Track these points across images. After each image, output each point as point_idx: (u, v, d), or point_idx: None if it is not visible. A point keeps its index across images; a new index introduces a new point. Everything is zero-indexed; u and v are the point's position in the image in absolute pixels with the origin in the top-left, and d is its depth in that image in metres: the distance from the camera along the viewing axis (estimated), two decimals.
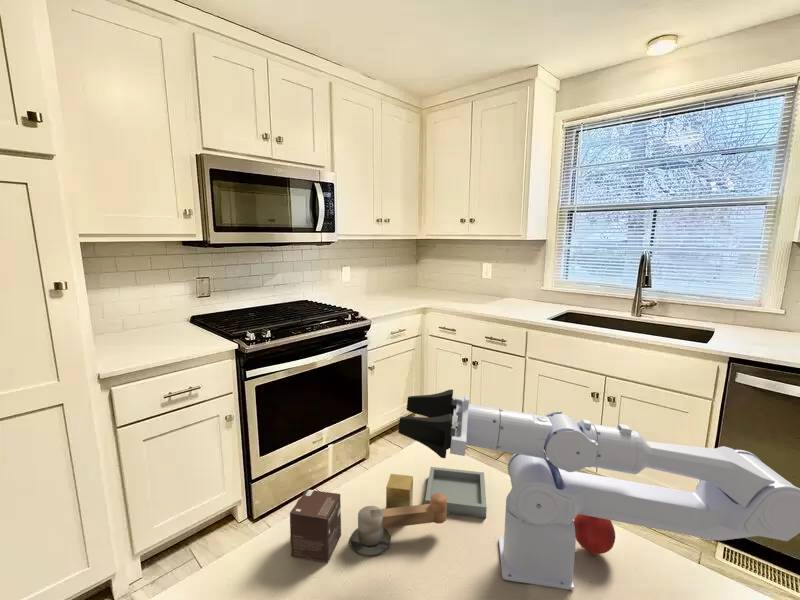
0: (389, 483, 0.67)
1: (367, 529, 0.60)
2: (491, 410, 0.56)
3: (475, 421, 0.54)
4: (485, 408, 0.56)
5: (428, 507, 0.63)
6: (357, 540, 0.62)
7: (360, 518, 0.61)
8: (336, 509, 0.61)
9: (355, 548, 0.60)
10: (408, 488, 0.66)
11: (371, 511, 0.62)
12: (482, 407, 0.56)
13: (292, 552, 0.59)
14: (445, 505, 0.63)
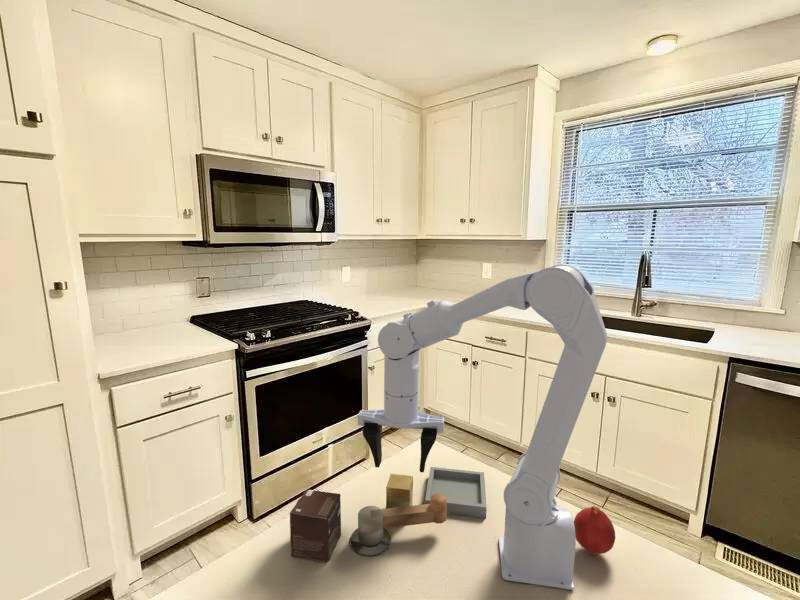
0: (389, 483, 0.67)
1: (367, 529, 0.60)
2: None
3: None
4: None
5: (428, 507, 0.63)
6: (357, 540, 0.62)
7: (360, 518, 0.61)
8: (336, 509, 0.61)
9: (355, 548, 0.60)
10: (408, 488, 0.66)
11: (371, 511, 0.62)
12: None
13: (292, 552, 0.59)
14: (445, 505, 0.63)
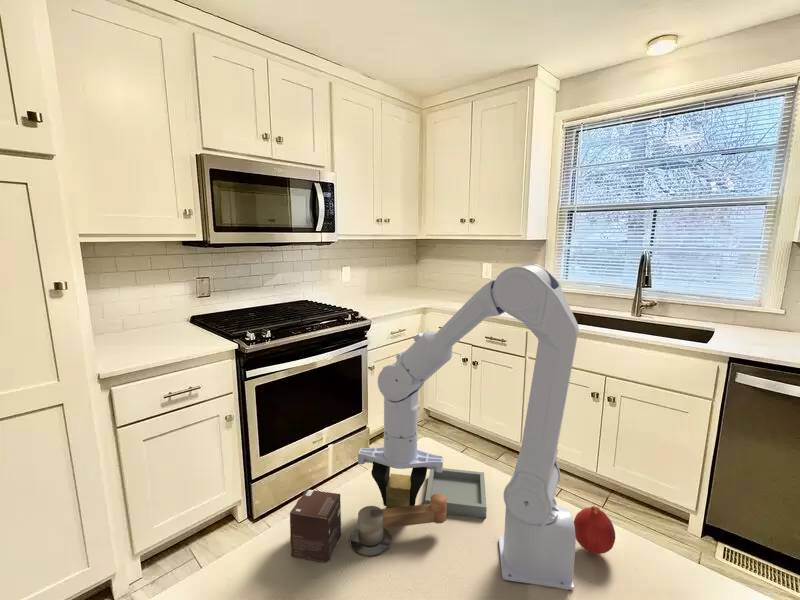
0: (389, 483, 0.67)
1: (367, 529, 0.60)
2: None
3: None
4: None
5: (428, 507, 0.63)
6: (357, 540, 0.62)
7: (360, 518, 0.61)
8: (336, 509, 0.61)
9: (355, 548, 0.60)
10: (408, 488, 0.66)
11: (371, 511, 0.62)
12: None
13: (292, 552, 0.59)
14: (445, 505, 0.63)
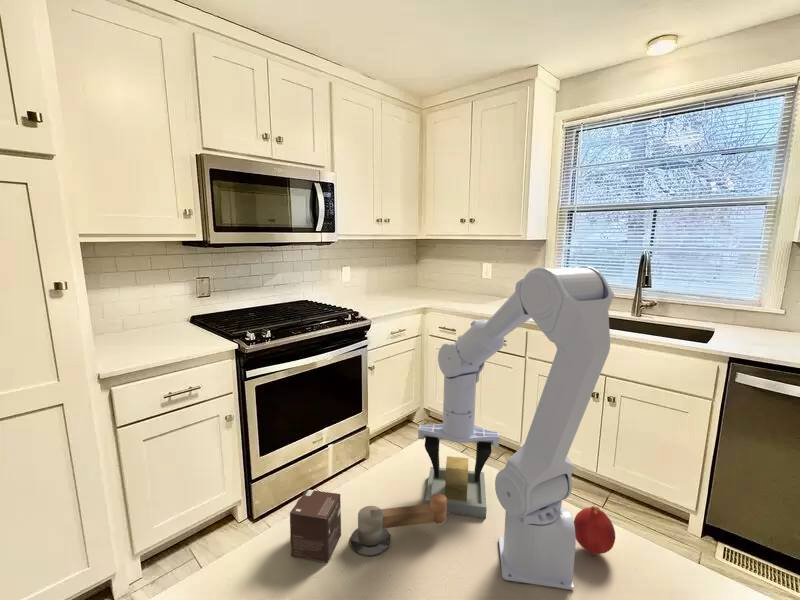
0: (447, 464, 0.72)
1: (367, 529, 0.60)
2: None
3: None
4: None
5: (428, 507, 0.63)
6: (357, 540, 0.62)
7: (360, 518, 0.61)
8: (336, 509, 0.61)
9: (355, 548, 0.60)
10: (466, 468, 0.71)
11: (371, 511, 0.62)
12: None
13: (292, 552, 0.59)
14: (445, 505, 0.63)
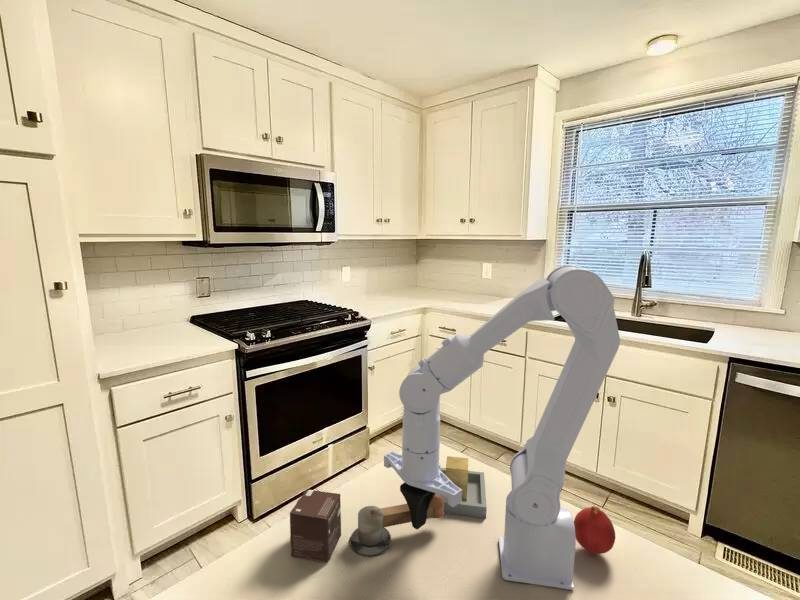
0: (447, 464, 0.72)
1: (368, 529, 0.60)
2: None
3: None
4: None
5: None
6: (357, 540, 0.62)
7: (361, 519, 0.61)
8: (336, 509, 0.61)
9: (355, 548, 0.60)
10: (466, 468, 0.71)
11: (371, 511, 0.62)
12: None
13: (292, 552, 0.59)
14: (443, 500, 0.64)
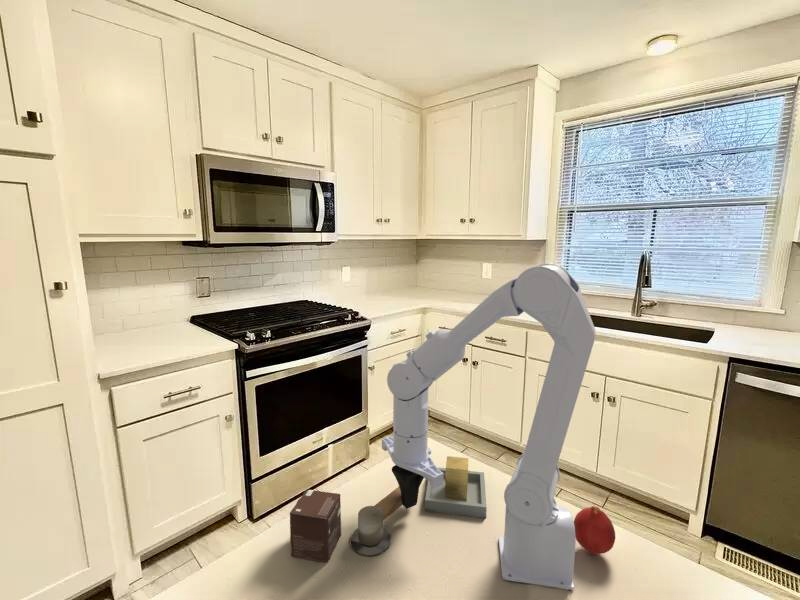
0: (447, 464, 0.72)
1: (376, 528, 0.60)
2: None
3: None
4: None
5: None
6: (357, 540, 0.62)
7: (366, 522, 0.60)
8: (336, 509, 0.61)
9: (355, 548, 0.60)
10: (466, 468, 0.71)
11: (368, 511, 0.62)
12: None
13: (292, 552, 0.59)
14: None
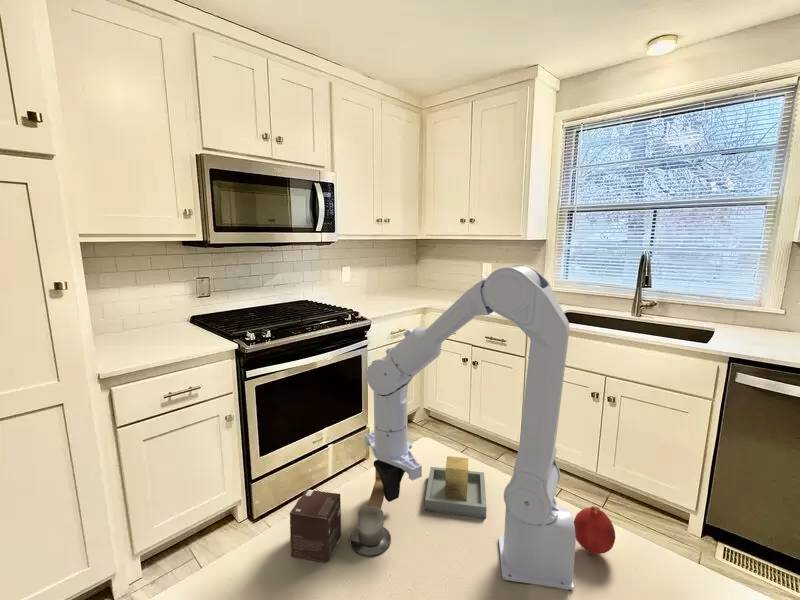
0: (447, 464, 0.72)
1: (381, 525, 0.61)
2: None
3: None
4: None
5: (380, 479, 0.71)
6: (357, 540, 0.62)
7: (373, 522, 0.60)
8: (336, 509, 0.61)
9: (355, 548, 0.60)
10: (466, 468, 0.71)
11: (367, 513, 0.62)
12: None
13: (292, 552, 0.59)
14: None
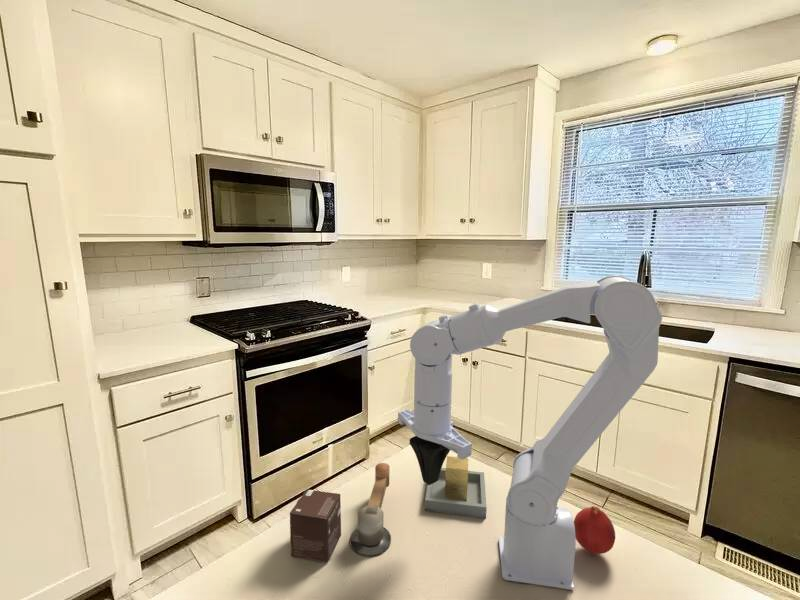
0: (447, 464, 0.72)
1: (381, 525, 0.61)
2: None
3: None
4: None
5: (380, 479, 0.71)
6: (357, 540, 0.62)
7: (373, 522, 0.60)
8: (336, 509, 0.61)
9: (355, 548, 0.60)
10: (466, 468, 0.71)
11: (367, 513, 0.62)
12: None
13: (292, 552, 0.59)
14: None
